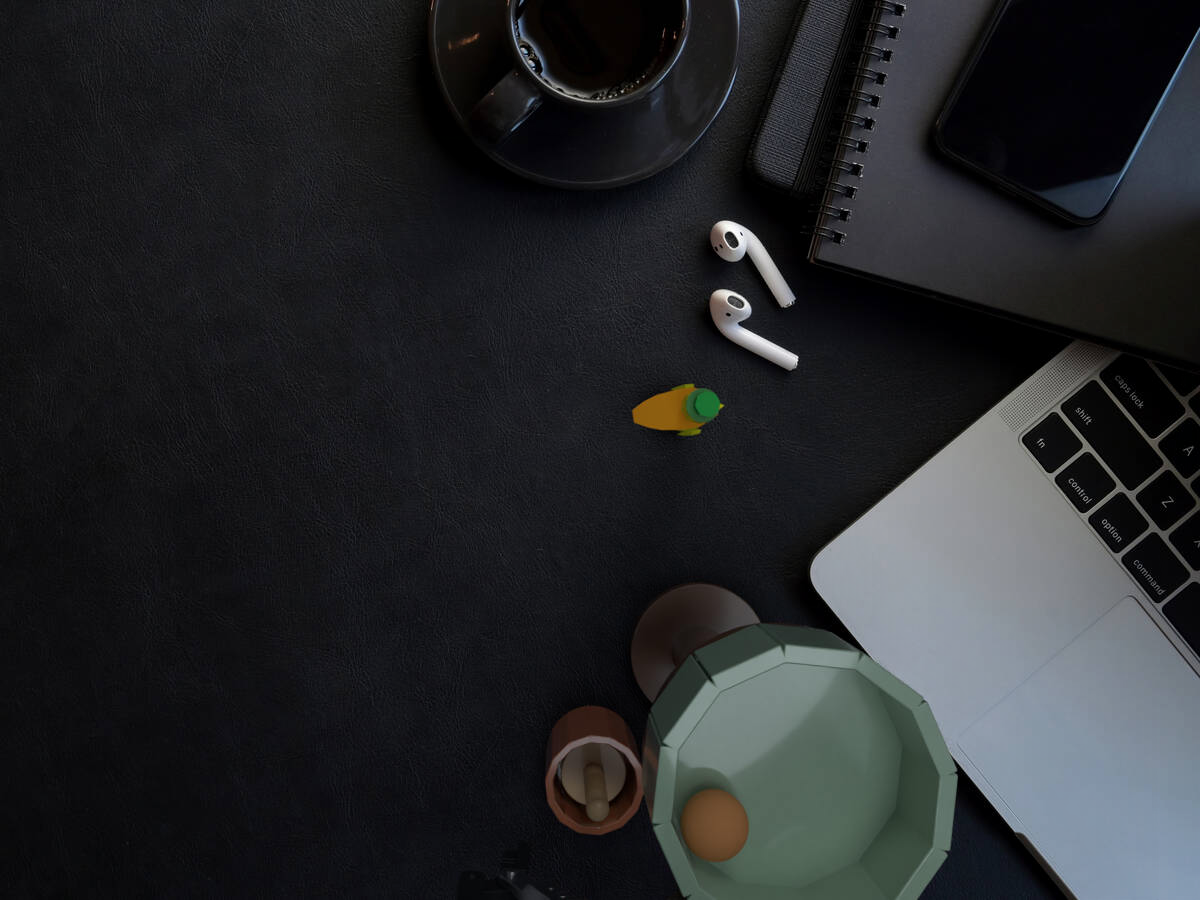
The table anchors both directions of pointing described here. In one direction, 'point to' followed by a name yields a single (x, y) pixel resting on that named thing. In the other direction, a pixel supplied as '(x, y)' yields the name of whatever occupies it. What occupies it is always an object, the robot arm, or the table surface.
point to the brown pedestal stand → (683, 631)
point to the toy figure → (679, 410)
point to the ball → (714, 825)
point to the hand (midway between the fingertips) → (604, 867)
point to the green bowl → (801, 770)
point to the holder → (577, 732)
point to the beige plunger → (593, 777)
